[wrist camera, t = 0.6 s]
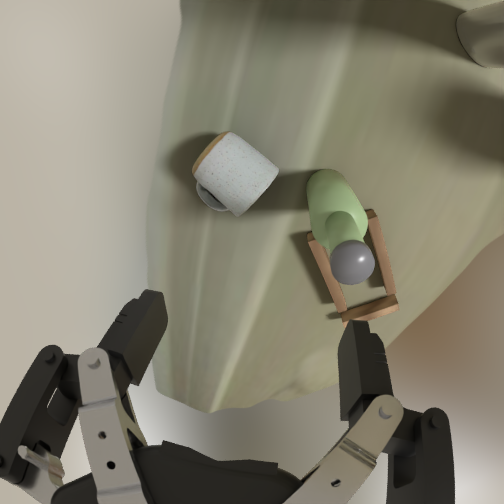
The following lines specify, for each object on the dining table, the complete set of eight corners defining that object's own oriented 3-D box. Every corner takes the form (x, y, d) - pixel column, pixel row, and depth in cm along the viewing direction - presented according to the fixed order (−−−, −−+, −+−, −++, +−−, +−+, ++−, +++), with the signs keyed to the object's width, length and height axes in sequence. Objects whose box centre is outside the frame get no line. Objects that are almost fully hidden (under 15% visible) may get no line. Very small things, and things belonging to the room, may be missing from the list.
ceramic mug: (232, 123, 32) (215, 130, 25) (282, 163, 34) (278, 180, 27) (187, 183, 37) (164, 204, 30) (232, 218, 39) (219, 246, 32)
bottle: (338, 162, 32) (378, 221, 17) (353, 200, 35) (394, 281, 19) (299, 178, 34) (304, 249, 19) (315, 214, 37) (329, 304, 21)
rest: (372, 208, 35) (377, 216, 33) (395, 300, 42) (399, 309, 40) (307, 233, 38) (307, 242, 36) (343, 318, 46) (344, 328, 43)
